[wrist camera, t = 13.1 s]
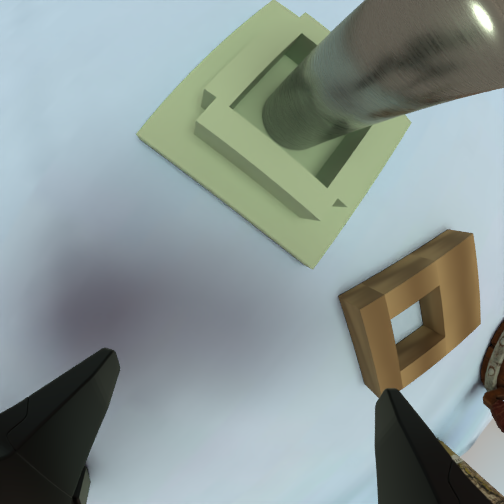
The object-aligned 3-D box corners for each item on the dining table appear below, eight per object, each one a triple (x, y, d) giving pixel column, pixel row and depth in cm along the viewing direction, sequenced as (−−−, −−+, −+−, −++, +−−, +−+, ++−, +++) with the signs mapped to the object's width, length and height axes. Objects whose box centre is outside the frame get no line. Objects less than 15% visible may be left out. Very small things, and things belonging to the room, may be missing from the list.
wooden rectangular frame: (364, 383, 23) (382, 402, 20) (338, 296, 21) (359, 309, 18) (459, 314, 24) (480, 323, 22) (448, 229, 22) (472, 233, 20)
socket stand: (303, 264, 20) (334, 281, 16) (140, 139, 17) (126, 120, 12) (399, 125, 20) (439, 115, 16) (268, 10, 17) (287, -26, 12)
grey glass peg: (275, 158, 17) (497, 80, 3) (252, 95, 16) (404, -76, 3) (333, 141, 18) (548, 84, 4) (311, 82, 17) (488, -35, 3)
